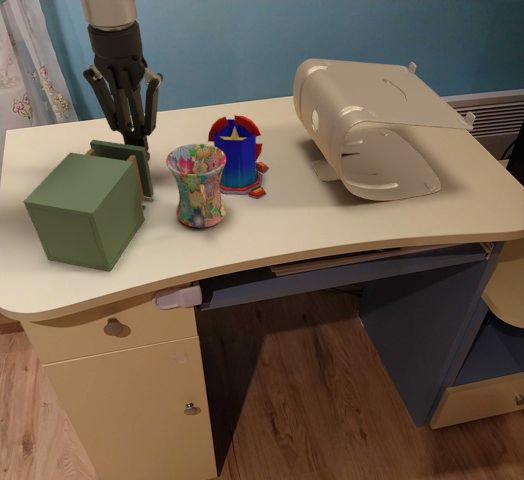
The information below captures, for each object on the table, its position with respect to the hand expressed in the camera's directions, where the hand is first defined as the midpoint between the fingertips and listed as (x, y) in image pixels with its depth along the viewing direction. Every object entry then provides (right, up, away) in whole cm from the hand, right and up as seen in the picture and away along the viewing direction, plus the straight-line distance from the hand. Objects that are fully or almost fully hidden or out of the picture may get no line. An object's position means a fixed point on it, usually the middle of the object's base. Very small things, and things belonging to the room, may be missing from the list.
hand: (141, 168), depth 91 cm
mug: (+12, -11, -7) cm, 18 cm away
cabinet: (-5, -15, -10) cm, 19 cm away
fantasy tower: (+17, -2, +1) cm, 18 cm away
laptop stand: (+43, +2, +5) cm, 43 cm away
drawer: (-2, -8, -5) cm, 10 cm away
